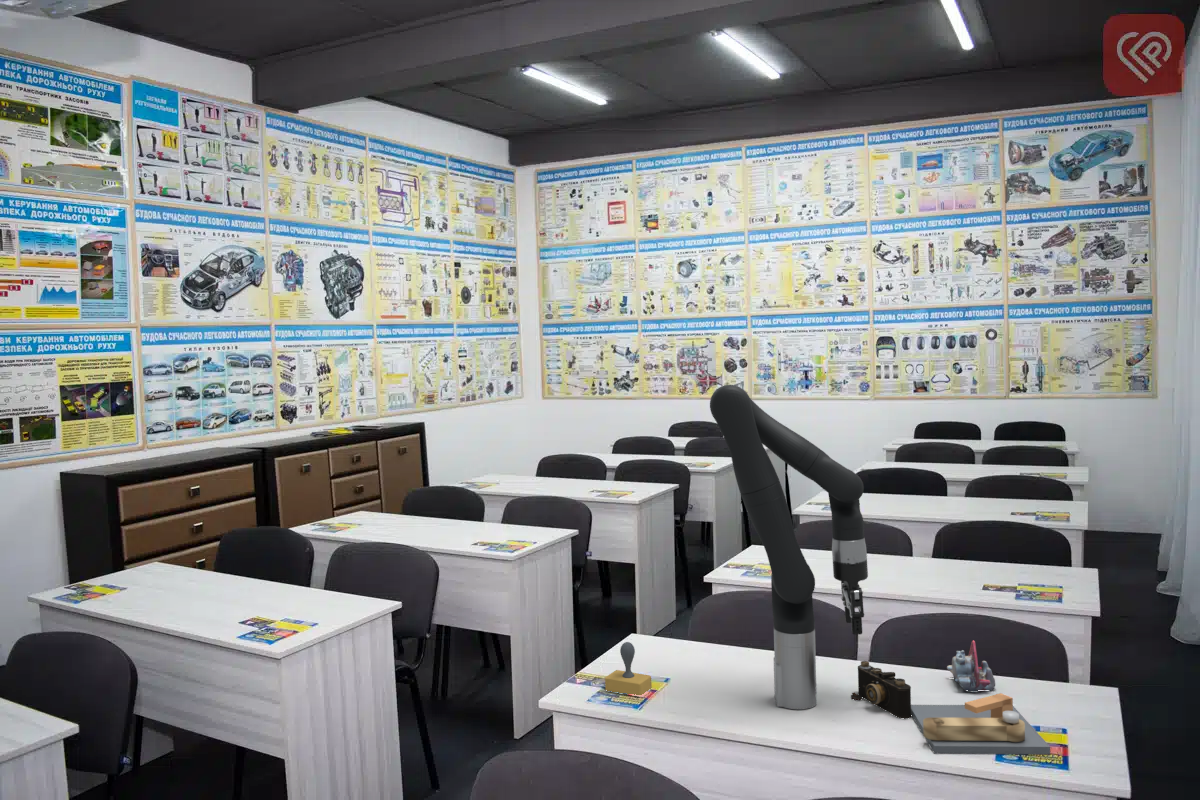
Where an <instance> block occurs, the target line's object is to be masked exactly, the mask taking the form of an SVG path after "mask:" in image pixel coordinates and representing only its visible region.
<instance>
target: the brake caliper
mask: <svg viewBox="0 0 1200 800" xmlns="http://www.w3.org/2000/svg"><path fill="white" fill-rule="evenodd" d="M970 643H971V644H970V648H969V652H968V655H966V653H965V650H963V649H962V650H956V651H955V654H956V655H955V656H952V658H951V665H947V666H946V669H947V670H948V671H949V672H950V673H951V674H952V676H953V677H951V678H954V679H955V680H954V682H956V683H957V684H958V685H959V686H960V687H961V688H962V689H963V690H964V691H965V690H968V691H978V690H992V691H993V689H995V687H996V679H995V677H994V675H993V672H992V669H991V668H990V667H989V664H988V662H987V661H986V660H982V661H981V665H980V666H979V664H978V663H979V661H978V653H977V646H976V645H977V644H976V641H975V639H974V640H972V641H971V642H970ZM978 692H979V691H978Z"/></svg>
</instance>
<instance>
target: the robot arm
mask: <svg viewBox="0 0 1200 800" xmlns="http://www.w3.org/2000/svg"><path fill="white" fill-rule="evenodd" d="M709 409H710V413H711V416H712V417H713V419H714V421H715V422H716V424H717V426H718V428H719V430H720V432H721V434H722V436H723V438H724V441H725V442H726V446H727V447H728V450H729V453H730V457H731V461H732V463H731V464H732V467H733V473H734V475H735V480H736V483H737V487H738V490H739V493H740V496H741V498H742V499H741V500H742V502H743V505H744V507H745V509H746V512H747V514H748V516H749V519H750V521H751V523H752V526H753V527H754V529H755V532H756V533H757V535H758V537H759V539H760V541H761V543H762V546H763V547H764V550H765V553H766V556H767V560H768V563H769V567H770V570H771V573H770V577H771V578H770V580H771V581H770V584H771V585H770V586H771V609H772V610H771V611H772V618H773V619H772V620H773V645H774V646H773V648H774V650H773V651H774V654H773V655H774V657H773V682H774V683H773V688H774V689H773V690H774V700H775V705H776V707H779V708H785V709H790V710H806V709H810V708H811V709H812V708H813V707H816V705H817V703H818V702H817V701H818V700H817V696H818V695H817V693H818V692H817V665H816V663H817V662H816V660H817V659H816V656H817V655H816V654H817V653H816V623H815V621H816V620H815V619H816V618H815V613H814V605H813V603H814V602H813V594H814V592H815V587H816V578H815V574H814V573H813V571H812V569H811V567H810V565H809V564H808V562H807V559H805V556H804V554H803V552H802V550H801V547H800V545H799V542H798V539H797V538H796V533H795V529H794V524H793V520H792V517H791V513H790V510H789V506H788V505H789V504H788V503H787V499H786V496H785V492H784V490H783V486H782V483H781V481H780V479H779V476H778V473H777V472H776V469H775V466H774V465H773V462H772V460H771V458H770V456H769V454H768V453H767V451H766V449H768V450H769V451H771V452H772V453H773V454H774V455H775V456H777V457H778V458H779V459H780V460H782V461H783V462H784V463H785V464H787V465H789V467H791V468H793V469H794V470H795V471H797V472H798V473H800V474H801V475H802V476H804V477H805V478H807V479H809V480H811V481H813V482H814V483H816V485H818V486H819V487H821V488H822V490H824V491H826V492H827V493H828V500H829V506H830V511H831V534H832V535H831V536H832V541H831V553H832V556H831V557H832V570H833V578H834V579H835V580H836V581H840V587H841V588H840V590H841V601H842V605H843V607H844V620H845V622H846V624H850V625H851V626H850V627H851V633H852V635H854V636H857V635H862V634H863V621H862V618H864V617H865V611H864V610H865V609H864V597H863V594H864V592H863V590H862V589H863V588H862V587H860V584H859V582H861V581H862V582H863V581H865V580H867V579H868V577H869V573H868V570H869V569H868V568H869V567H868V554H867V544H866V539H865V523H864V518H863V515H862V512H861V506H860V499H861V497H862V496H863V493H864V489H865V486H864V482H863V481H862V479H861V477H860V476H859V475H858V474H856V473H855V472H854V471H853V470H851V469H849V468H847V467H845V466H844V465H842V464H841V463H839V462H838V461H836V460H834V459H833V458H831V457H830V456H829V455H828V454H827V453H826V452H825V451H824V450H822V449H821V448H819V447H818V446H817V445H815V444H814V443H812V442H811V441H809V440H808V439H807V438H805V437H803V436H802V435H800V434H798V433H797V432H796V431H793V430H792V429H791V428H789V427H787V426H786V425H784V424H783V423H781V422H780V421H778V420H777V419H775V418H774V417H772V416H771V415H769V414H768V413H767V412H766V411H764V410H763V409H762V408H761V407H760V406H759V405H758V404H756V402H755V401H754V400H753V399H752V398H750V395H749V394H748V393H747V392H746V390H745V389H743V388H742V387H740V386H738V385H736V384H735V385H734V384H726V385H722V386H720V387H718V388H717V389H716V390H715V391H713V393H712V395H711V396H710V401H709ZM764 446H765V447H766V449H765V447H764ZM856 609H857V610H858V611H856Z"/></svg>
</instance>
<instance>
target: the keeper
mask: <svg viewBox="0 0 1200 800" xmlns="http://www.w3.org/2000/svg"><path fill="white" fill-rule="evenodd" d="M1013 700H1014V699H1013V697H1012V696H1009V695H1007V694H1005V693H1001V692H1000V693H997V694H992V695H989V696H986V697H985V696H984V697H981V698H978V699H974V700H971V701H965V702H964V705H965V709H967V710H970V711H972V712H974V713H980V712H984V711H987V710H991V718H1001V717H1003V711H1013V706H1014V704H1013V703H1014V702H1013Z"/></svg>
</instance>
